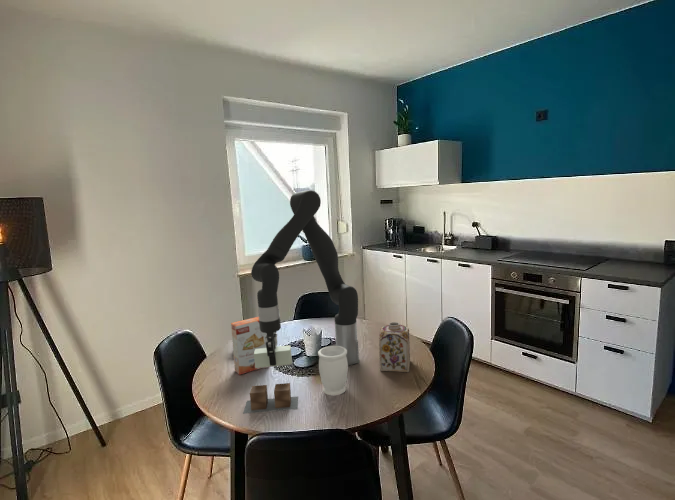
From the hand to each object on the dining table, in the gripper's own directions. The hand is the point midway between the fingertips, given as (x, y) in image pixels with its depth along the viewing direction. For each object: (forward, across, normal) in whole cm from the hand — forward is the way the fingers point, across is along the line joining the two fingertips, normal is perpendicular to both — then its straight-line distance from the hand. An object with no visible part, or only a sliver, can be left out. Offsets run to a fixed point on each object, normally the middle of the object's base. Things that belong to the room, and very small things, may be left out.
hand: (273, 361), depth 138 cm
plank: (+1, 0, 0) cm, 1 cm away
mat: (+11, -11, +1) cm, 15 cm away
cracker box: (+11, +20, +12) cm, 26 cm away
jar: (+12, -4, -21) cm, 25 cm away
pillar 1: (+10, -11, +5) cm, 16 cm away
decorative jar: (+12, +12, -47) cm, 50 cm away
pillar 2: (+10, -11, -3) cm, 16 cm away
